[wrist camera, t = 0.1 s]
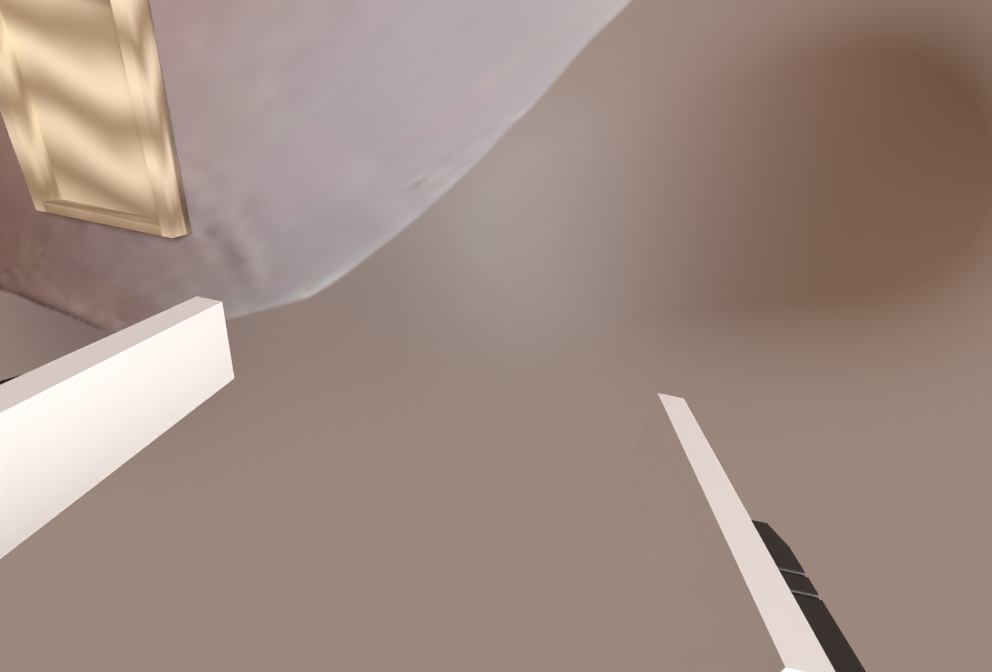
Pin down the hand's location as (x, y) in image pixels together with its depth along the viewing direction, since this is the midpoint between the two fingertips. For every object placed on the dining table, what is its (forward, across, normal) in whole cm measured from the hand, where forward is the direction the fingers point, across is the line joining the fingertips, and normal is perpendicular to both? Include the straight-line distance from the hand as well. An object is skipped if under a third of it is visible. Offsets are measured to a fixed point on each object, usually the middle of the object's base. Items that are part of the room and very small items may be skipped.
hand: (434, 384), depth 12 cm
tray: (+28, -39, +2) cm, 48 cm away
